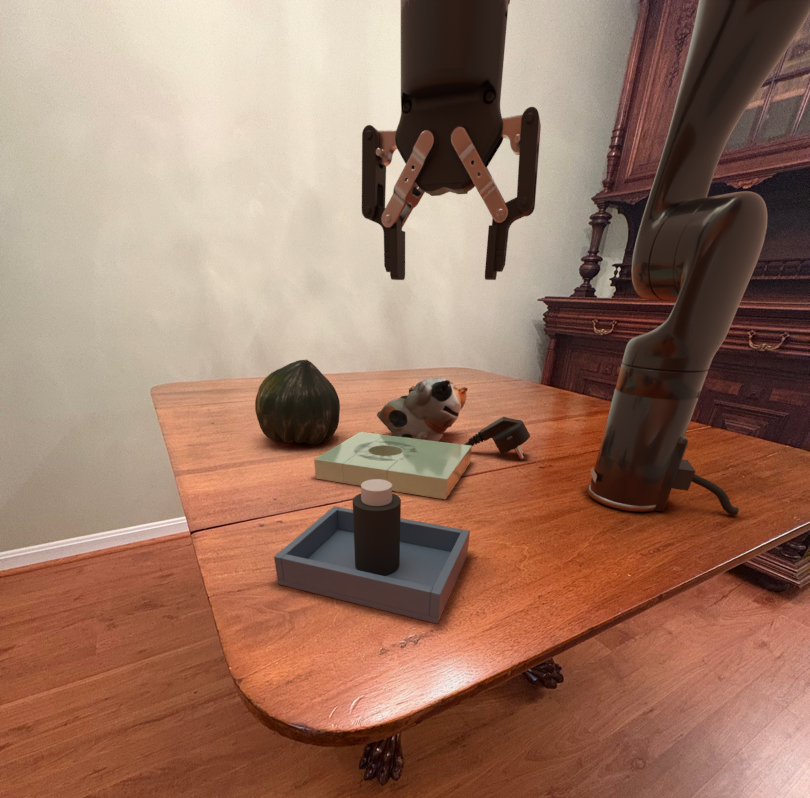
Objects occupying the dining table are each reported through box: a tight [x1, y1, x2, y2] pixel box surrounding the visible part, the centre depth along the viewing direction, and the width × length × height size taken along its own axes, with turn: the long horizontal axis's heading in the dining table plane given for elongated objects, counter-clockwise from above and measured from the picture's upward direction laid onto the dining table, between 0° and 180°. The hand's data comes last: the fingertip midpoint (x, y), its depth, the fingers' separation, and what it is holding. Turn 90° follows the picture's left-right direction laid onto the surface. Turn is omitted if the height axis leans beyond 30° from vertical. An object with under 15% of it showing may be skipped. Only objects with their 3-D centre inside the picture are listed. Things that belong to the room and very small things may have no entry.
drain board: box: [313, 431, 473, 500], centre depth 66 cm, size 20×16×3 cm
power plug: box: [462, 416, 531, 461], centre depth 74 cm, size 6×8×12 cm
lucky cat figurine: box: [376, 377, 468, 442], centre depth 80 cm, size 15×12×14 cm
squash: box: [254, 359, 341, 446], centre depth 76 cm, size 14×15×15 cm
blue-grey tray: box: [273, 505, 471, 624], centre depth 42 cm, size 16×12×3 cm
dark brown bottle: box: [352, 479, 402, 576], centre depth 40 cm, size 4×4×8 cm
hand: (442, 279), depth 38 cm, fingers open, 8 cm apart
